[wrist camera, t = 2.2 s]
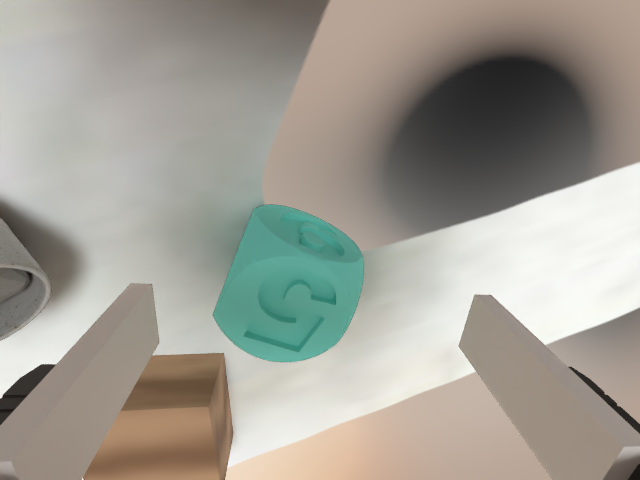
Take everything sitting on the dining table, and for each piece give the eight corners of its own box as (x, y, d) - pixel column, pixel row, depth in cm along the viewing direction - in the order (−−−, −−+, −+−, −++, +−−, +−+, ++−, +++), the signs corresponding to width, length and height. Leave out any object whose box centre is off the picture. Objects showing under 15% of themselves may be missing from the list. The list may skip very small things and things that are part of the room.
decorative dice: (226, 278, 27) (201, 344, 19) (259, 193, 24) (244, 231, 17) (313, 307, 29) (320, 377, 21) (353, 230, 26) (376, 280, 19)
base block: (101, 355, 29) (56, 414, 24) (224, 351, 30) (208, 406, 24) (126, 437, 33) (93, 503, 28) (233, 431, 34) (222, 494, 29)
